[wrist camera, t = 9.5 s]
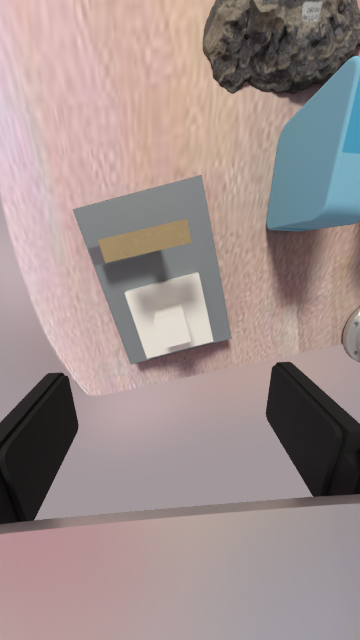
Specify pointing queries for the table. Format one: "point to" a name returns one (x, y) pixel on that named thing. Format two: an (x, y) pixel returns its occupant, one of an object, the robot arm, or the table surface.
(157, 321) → the lid
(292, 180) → the data package
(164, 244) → the tan t-shaped piece
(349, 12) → the geode
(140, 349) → the plate
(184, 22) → the table surface
